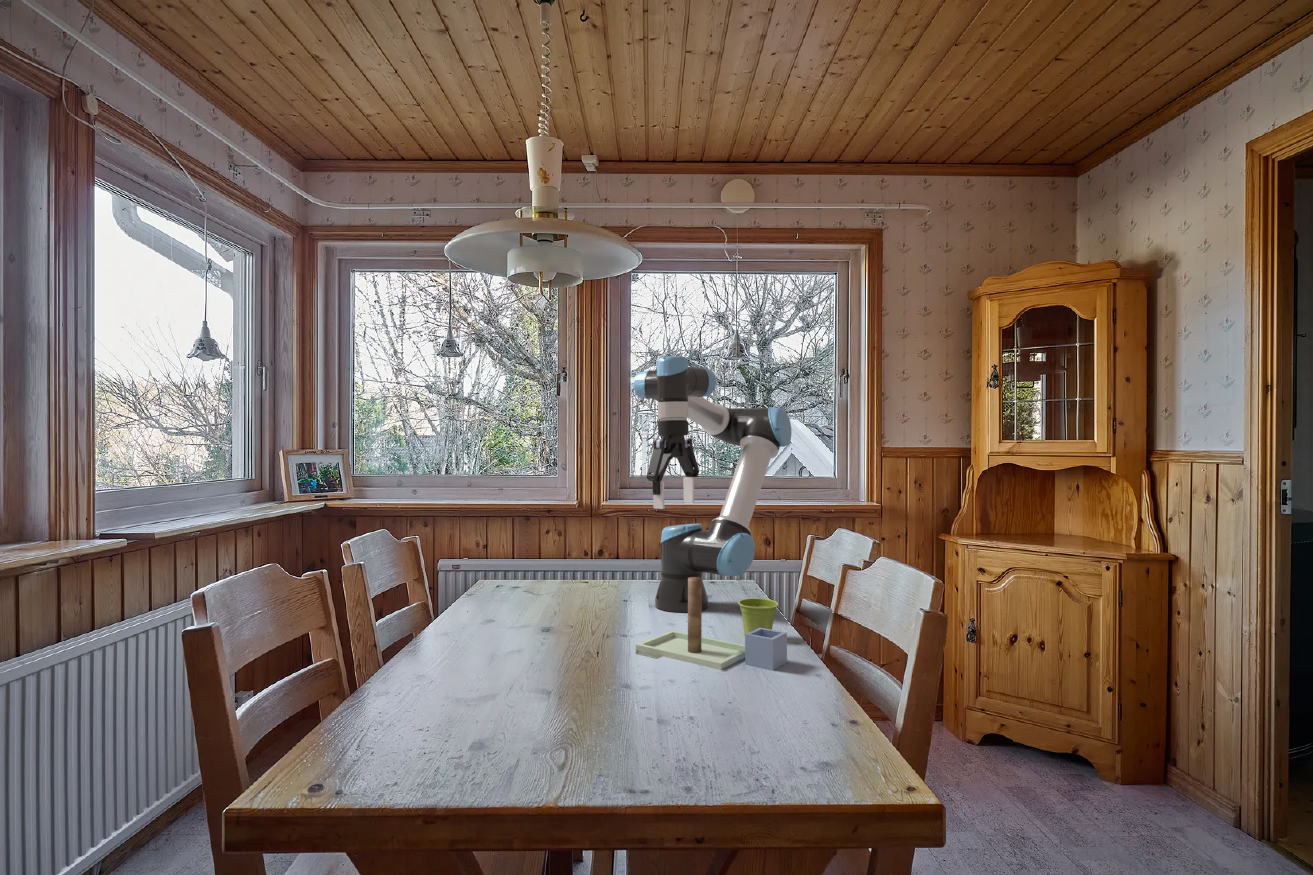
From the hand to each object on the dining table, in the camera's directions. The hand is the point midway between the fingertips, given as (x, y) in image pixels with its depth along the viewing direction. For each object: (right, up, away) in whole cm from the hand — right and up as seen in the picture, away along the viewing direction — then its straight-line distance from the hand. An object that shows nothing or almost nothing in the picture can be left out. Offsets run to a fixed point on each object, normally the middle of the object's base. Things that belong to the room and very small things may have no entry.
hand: (674, 505), depth 171 cm
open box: (+18, -31, -27) cm, 45 cm away
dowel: (+4, -30, -19) cm, 36 cm away
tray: (+4, -31, -19) cm, 36 cm away
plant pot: (+20, -31, -7) cm, 38 cm away
